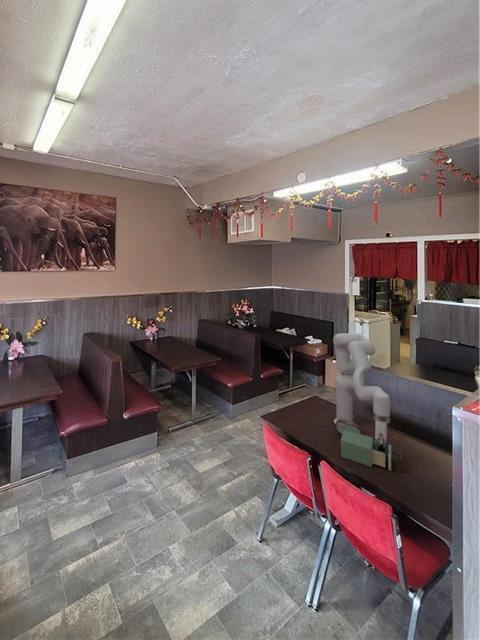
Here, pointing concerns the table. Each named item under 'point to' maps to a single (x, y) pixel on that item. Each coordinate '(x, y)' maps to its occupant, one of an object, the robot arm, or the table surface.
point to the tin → (348, 427)
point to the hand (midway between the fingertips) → (381, 450)
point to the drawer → (384, 457)
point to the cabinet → (357, 447)
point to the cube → (385, 446)
